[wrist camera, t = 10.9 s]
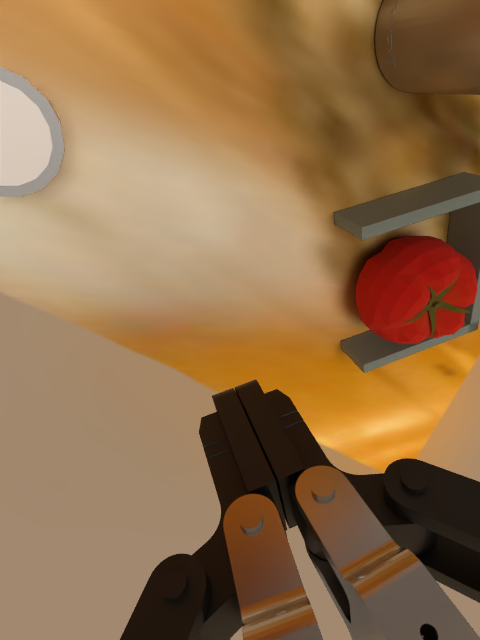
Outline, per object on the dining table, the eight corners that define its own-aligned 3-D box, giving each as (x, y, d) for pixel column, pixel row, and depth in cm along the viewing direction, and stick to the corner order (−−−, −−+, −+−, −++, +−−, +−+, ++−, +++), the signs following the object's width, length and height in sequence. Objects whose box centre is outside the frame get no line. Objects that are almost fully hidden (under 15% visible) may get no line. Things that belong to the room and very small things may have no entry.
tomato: (325, 277, 42) (374, 318, 35) (415, 204, 41) (485, 230, 34) (363, 334, 48) (412, 379, 41) (443, 271, 47) (508, 306, 40)
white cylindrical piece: (73, 85, 27) (68, 85, 22) (67, 184, 30) (61, 207, 25) (-44, 51, 25) (-86, 42, 19) (-38, 164, 28) (-73, 185, 22)
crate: (464, 172, 41) (505, 181, 37) (446, 309, 51) (477, 329, 47) (333, 212, 39) (361, 227, 35) (341, 348, 48) (363, 372, 44)
